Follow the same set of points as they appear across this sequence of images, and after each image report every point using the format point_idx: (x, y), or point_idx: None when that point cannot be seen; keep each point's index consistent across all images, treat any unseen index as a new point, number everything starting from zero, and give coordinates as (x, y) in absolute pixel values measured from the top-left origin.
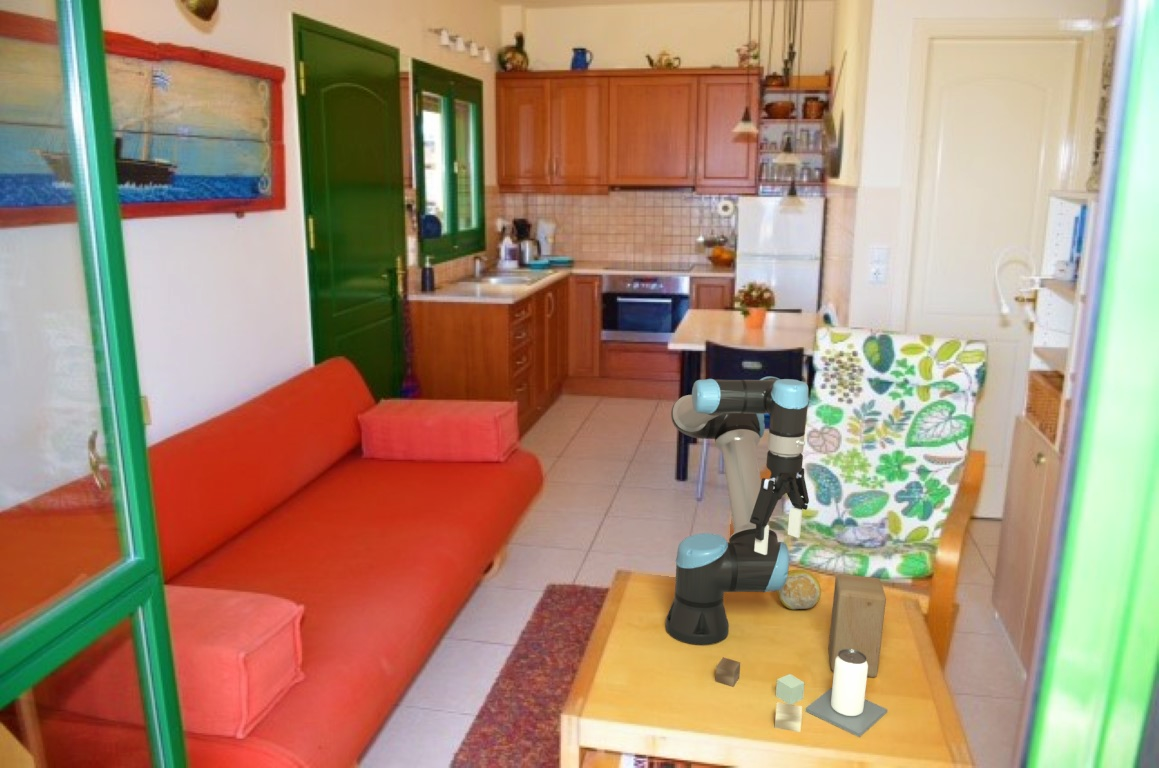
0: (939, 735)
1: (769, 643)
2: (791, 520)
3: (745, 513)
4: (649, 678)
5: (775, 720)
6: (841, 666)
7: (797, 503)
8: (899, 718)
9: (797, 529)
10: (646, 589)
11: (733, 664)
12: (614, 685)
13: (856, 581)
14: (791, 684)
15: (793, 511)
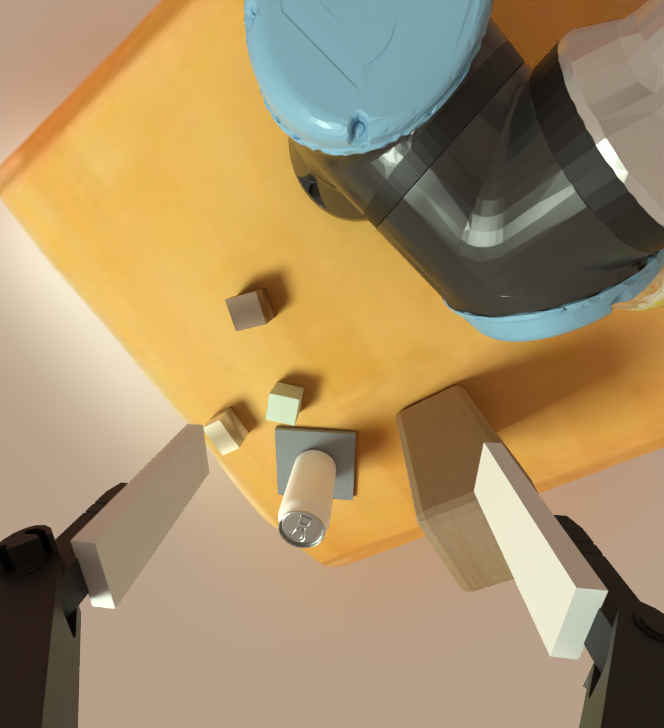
0: (352, 547)
1: (413, 293)
2: (517, 517)
3: None
4: (153, 204)
5: (209, 420)
6: (278, 514)
7: (585, 713)
8: (352, 509)
9: (489, 518)
10: None
11: (250, 319)
12: (89, 172)
13: None
14: (274, 414)
15: (551, 587)
